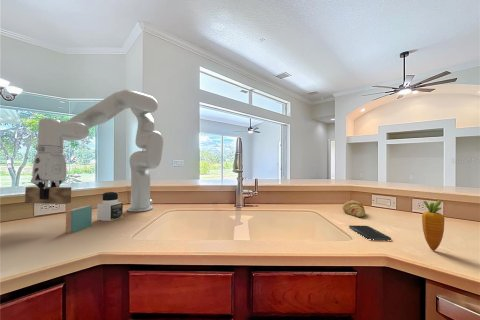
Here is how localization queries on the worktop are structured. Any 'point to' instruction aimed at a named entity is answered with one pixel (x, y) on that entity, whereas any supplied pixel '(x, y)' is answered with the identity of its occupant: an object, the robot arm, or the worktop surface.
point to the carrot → (433, 225)
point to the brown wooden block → (55, 195)
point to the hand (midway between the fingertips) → (48, 198)
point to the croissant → (354, 208)
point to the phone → (369, 233)
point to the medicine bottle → (110, 207)
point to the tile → (78, 218)
